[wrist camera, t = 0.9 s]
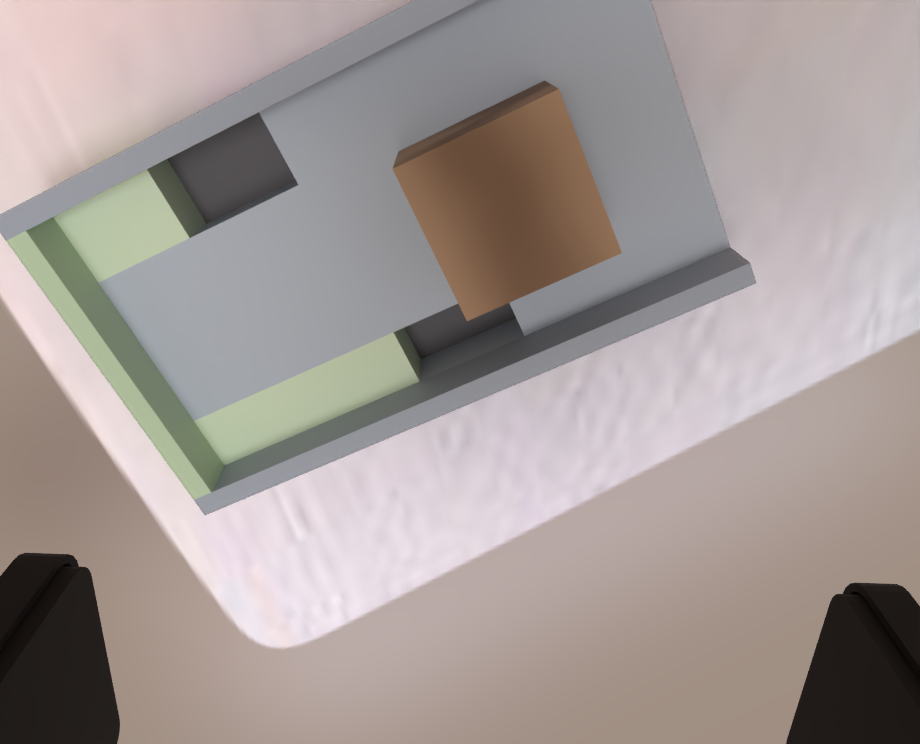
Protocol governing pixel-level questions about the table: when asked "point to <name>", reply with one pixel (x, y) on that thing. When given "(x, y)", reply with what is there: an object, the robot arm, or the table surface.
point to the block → (507, 200)
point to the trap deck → (364, 240)
